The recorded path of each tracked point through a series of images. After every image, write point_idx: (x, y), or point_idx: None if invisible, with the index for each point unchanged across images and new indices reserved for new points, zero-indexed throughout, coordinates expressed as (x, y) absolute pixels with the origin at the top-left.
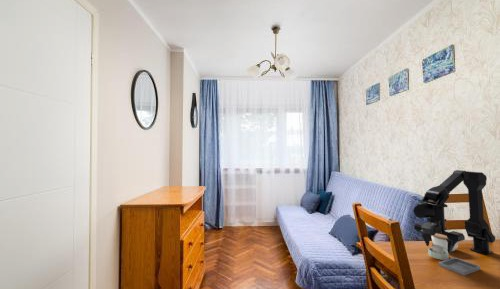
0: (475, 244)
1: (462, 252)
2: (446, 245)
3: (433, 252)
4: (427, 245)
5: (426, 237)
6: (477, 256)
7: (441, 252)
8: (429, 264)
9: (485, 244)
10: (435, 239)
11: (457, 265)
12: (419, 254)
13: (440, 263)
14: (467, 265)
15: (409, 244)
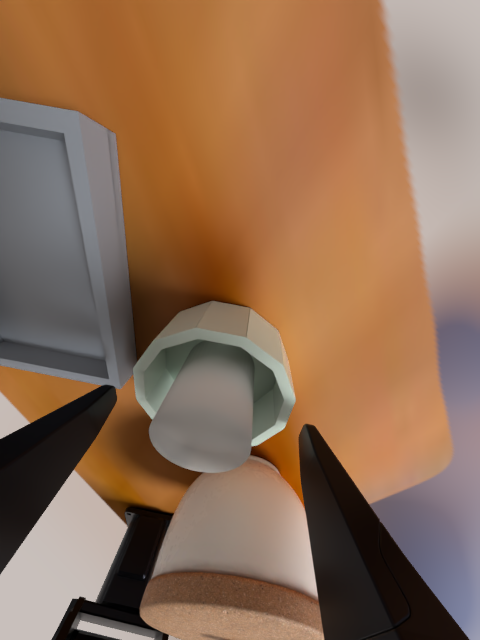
0: (142, 561)
1: (185, 486)
2: (204, 502)
3: (218, 330)
4: (307, 429)
5: (350, 571)
6: (133, 481)
7: (174, 380)
8: (188, 96)
9: (109, 573)
10: (278, 549)
11: (67, 297)
12: (341, 300)
13: (60, 112)
14: (53, 348)
15: (441, 435)
